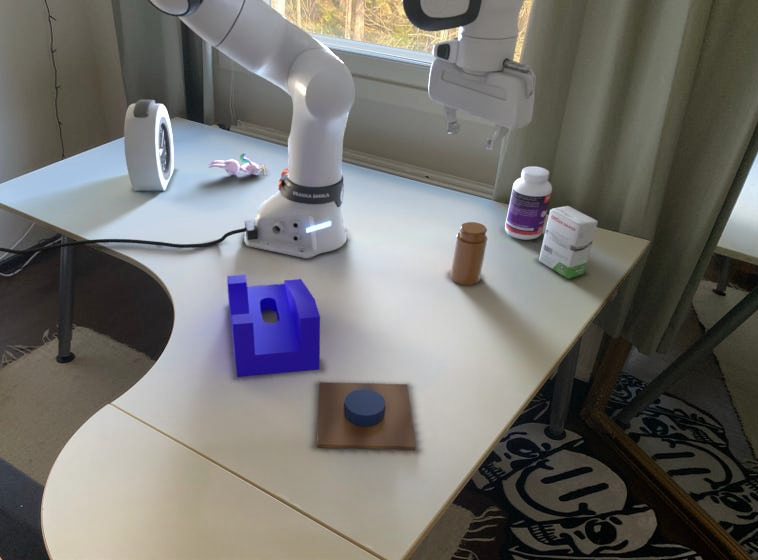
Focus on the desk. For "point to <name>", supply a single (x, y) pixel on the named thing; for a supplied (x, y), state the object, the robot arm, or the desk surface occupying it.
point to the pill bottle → (528, 204)
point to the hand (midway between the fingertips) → (471, 140)
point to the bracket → (273, 327)
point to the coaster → (383, 435)
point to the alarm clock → (148, 146)
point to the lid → (364, 407)
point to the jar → (469, 253)
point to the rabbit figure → (238, 166)
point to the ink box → (567, 241)
